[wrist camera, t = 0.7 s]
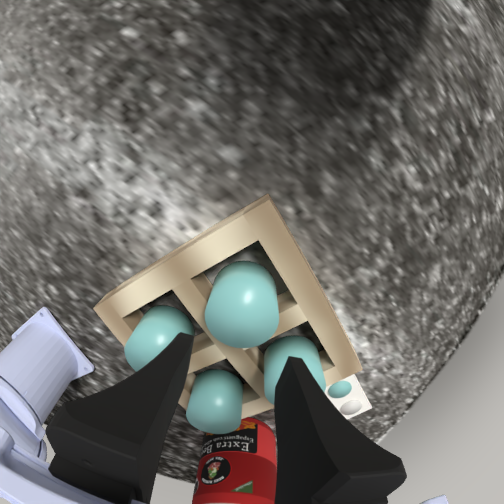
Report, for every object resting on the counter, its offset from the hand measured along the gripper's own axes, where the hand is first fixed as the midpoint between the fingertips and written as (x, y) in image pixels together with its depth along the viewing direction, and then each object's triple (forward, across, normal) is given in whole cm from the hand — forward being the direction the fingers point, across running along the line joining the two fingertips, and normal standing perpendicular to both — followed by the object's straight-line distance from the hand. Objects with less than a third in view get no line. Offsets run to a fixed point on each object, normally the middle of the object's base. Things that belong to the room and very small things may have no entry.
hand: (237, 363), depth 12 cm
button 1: (+7, 0, +9) cm, 12 cm away
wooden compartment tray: (+9, 0, +5) cm, 10 cm away
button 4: (+7, 0, 0) cm, 7 cm away
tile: (+9, -11, +11) cm, 18 cm away
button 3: (+7, -5, +5) cm, 10 cm away
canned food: (+10, -4, +19) cm, 21 cm away
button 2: (+7, +5, +5) cm, 10 cm away
